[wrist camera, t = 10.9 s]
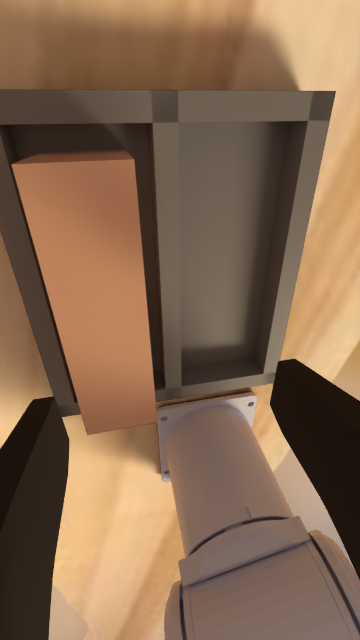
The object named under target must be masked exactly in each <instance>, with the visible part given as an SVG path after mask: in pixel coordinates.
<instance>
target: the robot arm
mask: <svg viewBox="0 0 360 640" xmlns="http://www.w3.org/2000/svg"><path fill="white" fill-rule="evenodd" d="M256 403H257V396H256V394H255V393H254V392H248V393H242V394H236V395H230V396H223V397H217V398H211V399H205V400H199V401H193V402H187V403H181V404H175V405H168V406H163V407H160V408H158V410H157V423H158V436H159V450H160V463H161V476H162V481H164V482H169V481H171V482H172V488H173V493H174V499H175V504H176V509H177V515H178V520H179V526H180V531H181V536H182V542H183V547H184V553H185V558H184V559H181V560H179V562H178V563H179V569H180V575H181V580H180V581H177V582H175V583H174V584H173V585H172V588H171V591H170V595H169V598H168V600H167V603H166V607H165V617H164V631H165V640H360V401H359V400H357V399H356V398H354V397H352V396H351V395H349V394H348V393H346V392H345V391H343V390H342V389H340V388H338V387H337V386H336V385H334V384H333V383H331V382H330V381H328V380H327V379H325V378H324V377H322V376H321V375H319V374H318V373H316V372H315V371H313V370H312V369H310V368H309V367H307V366H305V365H304V364H302V363H301V362H299V361H298V360H296V359H290V360H283V361H278V363H277V369H276V374H275V379H274V384H273V390H272V395H271V400H270V406H271V408H272V411H273V413H274V415H275V418H276V420H277V422H278V425H279V427H280V429H281V431H282V433H283V435H284V437H285V438H286V440H287V442H288V444H289V445H290V447H291V449H292V450H293V452H294V454H295V456H296V457H297V459H298V461H299V462H300V464H301V466H302V467H303V469H304V471H305V472H306V474H307V476H308V477H309V479H310V481H311V483H312V484H313V486H314V488H315V489H316V491H317V493H318V494H319V496H320V498H321V500H322V501H323V503H324V505H325V507H326V509H327V511H328V513H329V515H330V517H331V519H332V521H333V523H334V525H335V528H336V530H337V532H338V534H339V536H340V538H341V540H342V542H343V544H344V547H345V549H346V551H347V553H348V555H349V558H350V560H351V562H352V564H353V567H354V568H353V567H352V565H351V564H350V562H349V560H348V559H347V557H346V556H345V554H344V553H343V551H342V550H341V549H340V548H339V546H338V545H337V543H336V542H335V541H334V540H333V539H331V538H329V537H328V536H326V535H324V534H323V533H321V532H320V531H319V530H313V531H310V532H307V530H306V528H305V526H304V524H303V522H302V520H301V519H300V517H299V516H296V517H294V516H293V514H292V511H291V509H290V507H289V505H288V503H287V501H286V499H285V497H284V495H283V493H282V491H281V489H280V487H279V484H278V483H277V480H276V478H275V476H274V474H273V472H272V470H271V468H270V466H269V464H268V462H267V460H266V457H265V455H264V453H263V451H262V449H261V447H260V445H259V443H258V441H257V439H256V437H255V435H254V433H253V430H252V426H253V420H254V414H255V409H256ZM68 463H69V437H68V434H67V432H66V429H65V426H64V423H63V420H62V417H61V414H60V411H59V408H58V405H57V402H56V399H55V396H53V397H47V398H40V399H34V400H33V401H32V402H31V403H30V404H29V406H28V408H27V409H26V411H25V412H24V414H23V415H22V417H21V418H20V420H19V422H18V423H17V425H16V426H15V428H14V429H13V431H12V432H11V434H10V435H9V437H8V438H7V440H6V441H5V443H4V444H3V446H2V447H1V449H0V640H48V637H49V619H50V604H51V592H52V578H53V569H54V561H55V554H56V547H57V541H58V535H59V528H60V522H61V516H62V509H63V503H64V497H65V490H66V484H67V477H68ZM354 569H355V570H354ZM355 571H356V572H355ZM356 573H357V574H356Z"/></svg>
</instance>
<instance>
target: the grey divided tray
mask: <svg viewBox="0 0 360 640" xmlns="http://www.w3.org/2000/svg"><path fill="white" fill-rule="evenodd" d="M335 93H336V91H215V90H4V89H0V231H1V234H2V237H3V240H4V243H5V246H6V249H7V252H8V255H9V259H10V262H11V265H12V268H13V271H14V274H15V277H16V280H17V283H18V286H19V290H20V293H21V296H22V299H23V302H24V305H25V308H26V311H27V314H28V318H29V321H30V324H31V327H32V330H33V333H34V336H35V339H36V342H37V345H38V349H39V352H40V355H41V358H42V361H43V364H44V367H45V370H46V373H47V377H48V380H49V383H50V386H51V389H52V392H53V395H54V396H55V399H56V402H57V405H58V408H59V411H60V414H61V417H66V416H72V415H78V414H81V411H80V407H79V404H78V400H77V397H76V393H75V390H74V386H73V382H72V379H71V375H70V372H69V368H68V365H67V361H66V357H65V354H64V350H63V347H62V343H61V340H60V336H59V332H58V329H57V325H56V322H55V318H54V315H53V311H52V307H51V304H50V300H49V297H48V293H47V290H46V286H45V282H44V279H43V275H42V272H41V268H40V264H39V261H38V257H37V254H36V250H35V247H34V243H33V239H32V236H31V232H30V229H29V225H28V222H27V218H26V214H25V211H24V207H23V204H22V200H21V197H20V193H19V189H18V186H17V182H16V179H15V175H14V172H13V168H12V164H13V163H16V162H18V161H21V160H23V159H26V158H28V157H30V156H33V155H35V154H38V153H40V152H53V151H81V150H109V149H126V150H127V151H128V153H129V154H130V155H131V156H132V157H133V158H134V162H135V174H136V185H137V196H138V208H139V219H140V230H141V242H142V253H143V264H144V276H145V287H146V298H147V310H148V321H149V332H150V344H151V355H152V366H153V378H154V389H155V400H156V402H159V401H166V400H172V399H178V398H184V397H190V396H197V395H203V394H209V393H215V392H222V391H228V390H234V389H240V388H246V387H253V386H259V385H265V384H271V383H274V379H275V374H276V369H277V363H278V361H280V357H281V353H282V348H283V343H284V338H285V333H286V329H287V324H288V319H289V314H290V309H291V304H292V300H293V295H294V290H295V285H296V280H297V276H298V271H299V266H300V261H301V256H302V252H303V247H304V242H305V237H306V232H307V228H308V223H309V218H310V213H311V208H312V203H313V199H314V194H315V189H316V184H317V179H318V175H319V170H320V165H321V160H322V155H323V151H324V146H325V141H326V136H327V131H328V127H329V122H330V117H331V112H332V107H333V103H334V98H335Z"/></svg>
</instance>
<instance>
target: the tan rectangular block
mask: <svg viewBox="0 0 360 640" xmlns="http://www.w3.org/2000/svg"><path fill="white" fill-rule="evenodd" d="M12 168H13V172H14V175H15V179H16V182H17V186H18V189H19V193H20V197H21V200H22V204H23V207H24V211H25V214H26V218H27V222H28V225H29V229H30V232H31V236H32V239H33V243H34V247H35V250H36V254H37V257H38V261H39V264H40V268H41V272H42V275H43V279H44V282H45V286H46V290H47V293H48V297H49V300H50V304H51V307H52V311H53V315H54V318H55V322H56V325H57V329H58V332H59V336H60V340H61V343H62V347H63V350H64V354H65V357H66V361H67V365H68V368H69V372H70V375H71V379H72V382H73V386H74V390H75V393H76V397H77V400H78V404H79V407H80V411H81V415H82V418H83V422H84V425H85V429H86V432H87V435H90V434H95V433H101V432H107V431H112V430H118V429H123V428H129V427H135V426H140V425H146V424H152V423H157V412H156V400H155V389H154V378H153V366H152V355H151V344H150V332H149V321H148V310H147V298H146V287H145V276H144V264H143V253H142V242H141V230H140V219H139V208H138V196H137V185H136V174H135V162H134V158H133V157H132V156H131V155H130V154H129V153H128V151H127V150H126V149H109V150H81V151H53V152H40V153H38V154H35V155H33V156H30V157H28V158H26V159H23V160H21V161H18V162H16V163H13V164H12Z"/></svg>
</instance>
